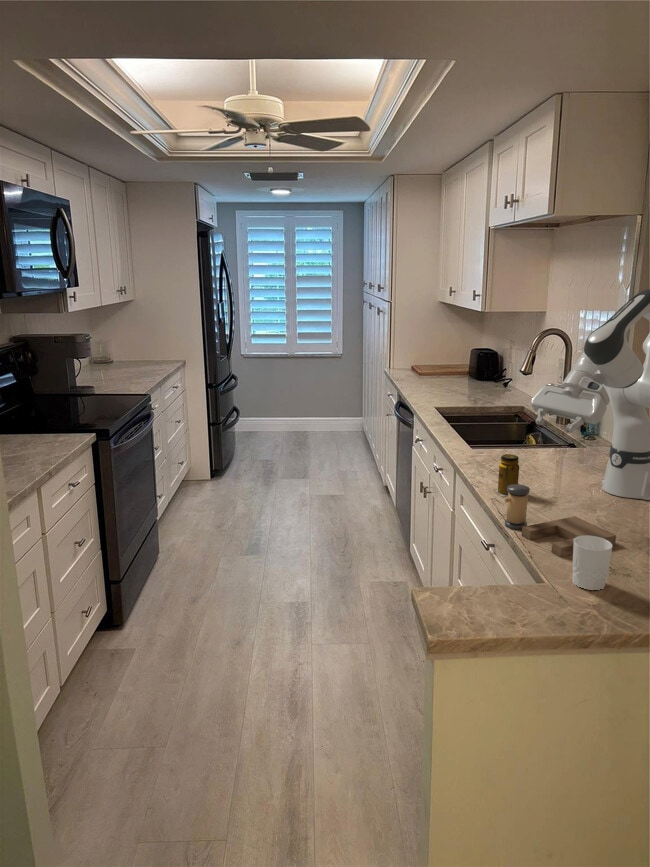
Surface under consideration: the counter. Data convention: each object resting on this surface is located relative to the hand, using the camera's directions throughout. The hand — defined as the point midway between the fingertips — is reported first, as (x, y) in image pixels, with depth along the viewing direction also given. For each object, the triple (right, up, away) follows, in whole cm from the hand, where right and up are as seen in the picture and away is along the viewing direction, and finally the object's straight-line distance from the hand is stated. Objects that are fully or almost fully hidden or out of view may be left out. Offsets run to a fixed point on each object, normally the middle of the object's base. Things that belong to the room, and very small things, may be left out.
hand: (553, 427), depth 170 cm
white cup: (-3, -36, -31) cm, 47 cm away
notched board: (+1, -29, -8) cm, 30 cm away
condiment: (-4, -21, +27) cm, 34 cm away
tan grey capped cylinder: (-10, -27, +1) cm, 29 cm away
